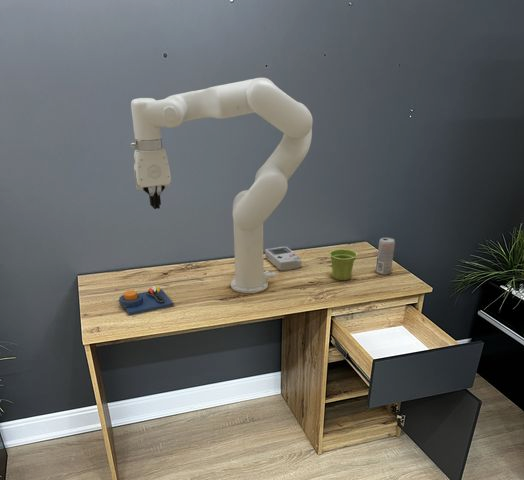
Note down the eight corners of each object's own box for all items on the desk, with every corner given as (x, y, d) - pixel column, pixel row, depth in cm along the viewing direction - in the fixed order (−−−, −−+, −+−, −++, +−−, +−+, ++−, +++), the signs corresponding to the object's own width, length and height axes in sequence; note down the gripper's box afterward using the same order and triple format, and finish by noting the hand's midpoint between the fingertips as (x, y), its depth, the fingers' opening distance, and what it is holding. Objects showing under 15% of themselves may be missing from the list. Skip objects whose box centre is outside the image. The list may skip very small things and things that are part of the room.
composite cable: (166, 302, 161) (165, 295, 160) (151, 305, 159) (150, 298, 158) (159, 290, 169) (158, 283, 167) (145, 293, 167) (144, 286, 166)
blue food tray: (161, 292, 171) (160, 283, 169) (173, 306, 162) (172, 297, 160) (116, 300, 165) (115, 292, 163) (126, 316, 156) (124, 307, 154)
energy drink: (386, 268, 187) (390, 236, 181) (393, 273, 183) (398, 241, 177) (372, 270, 186) (376, 238, 180) (380, 275, 182) (384, 243, 175)
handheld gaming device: (280, 272, 185) (280, 262, 183) (264, 258, 197) (264, 248, 195) (302, 268, 188) (303, 258, 186) (285, 255, 199) (286, 245, 197)
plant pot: (336, 284, 175) (338, 260, 171) (323, 274, 183) (324, 251, 178) (360, 279, 179) (362, 256, 174) (345, 270, 186) (347, 247, 181)
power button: (135, 295, 163) (134, 289, 162) (139, 299, 160) (138, 294, 159) (123, 297, 161) (122, 291, 160) (126, 302, 158) (125, 296, 157)
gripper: (126, 149, 144) (135, 214, 154) (177, 145, 150) (182, 207, 160) (120, 145, 150) (129, 207, 160) (169, 141, 156) (175, 201, 165)
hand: (155, 207), depth 160 cm, fingers closed
